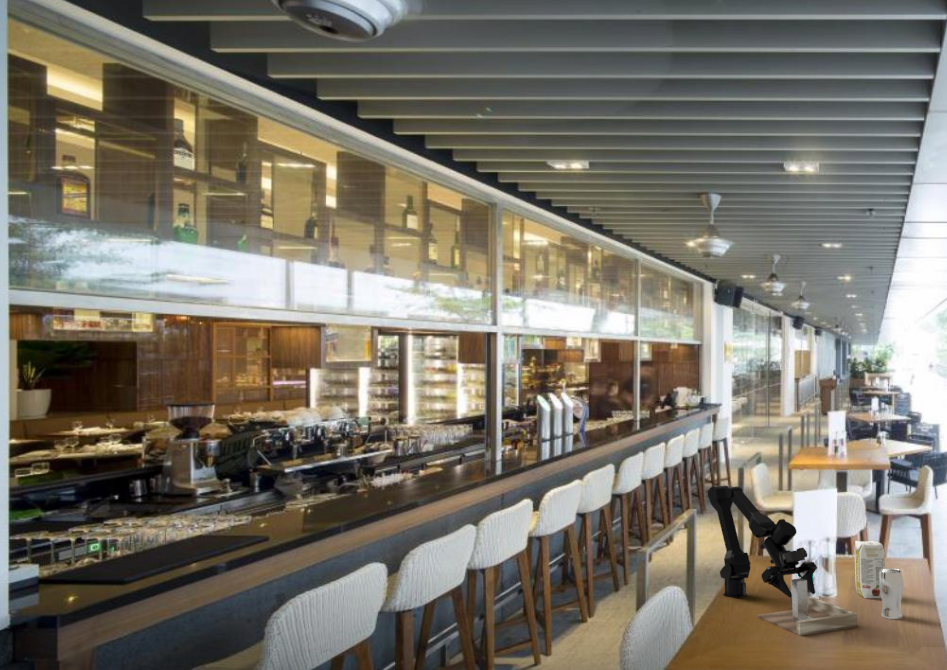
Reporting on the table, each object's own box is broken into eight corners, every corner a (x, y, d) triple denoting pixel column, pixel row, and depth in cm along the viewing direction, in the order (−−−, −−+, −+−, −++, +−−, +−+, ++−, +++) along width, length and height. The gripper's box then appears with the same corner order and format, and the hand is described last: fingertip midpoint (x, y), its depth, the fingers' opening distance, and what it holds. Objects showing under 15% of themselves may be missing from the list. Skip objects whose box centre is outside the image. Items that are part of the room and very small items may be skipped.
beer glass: (879, 618, 268) (878, 571, 268) (880, 612, 274) (878, 566, 274) (903, 621, 264) (902, 574, 265) (903, 614, 271) (902, 569, 271)
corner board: (757, 616, 271) (756, 604, 271) (811, 608, 279) (811, 596, 279) (800, 635, 252) (799, 622, 252) (857, 626, 260) (857, 613, 260)
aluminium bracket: (792, 620, 265) (791, 579, 266) (802, 618, 267) (801, 578, 267) (806, 625, 260) (804, 584, 260) (816, 624, 261) (814, 582, 261)
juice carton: (887, 599, 288) (886, 544, 289) (863, 599, 288) (861, 544, 289) (877, 592, 296) (876, 539, 296) (853, 593, 296) (852, 540, 296)
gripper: (766, 542, 266) (791, 585, 255) (812, 536, 272) (838, 578, 262) (751, 561, 273) (774, 603, 263) (796, 555, 280) (821, 596, 269)
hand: (802, 595), depth 264 cm, fingers open, 9 cm apart
